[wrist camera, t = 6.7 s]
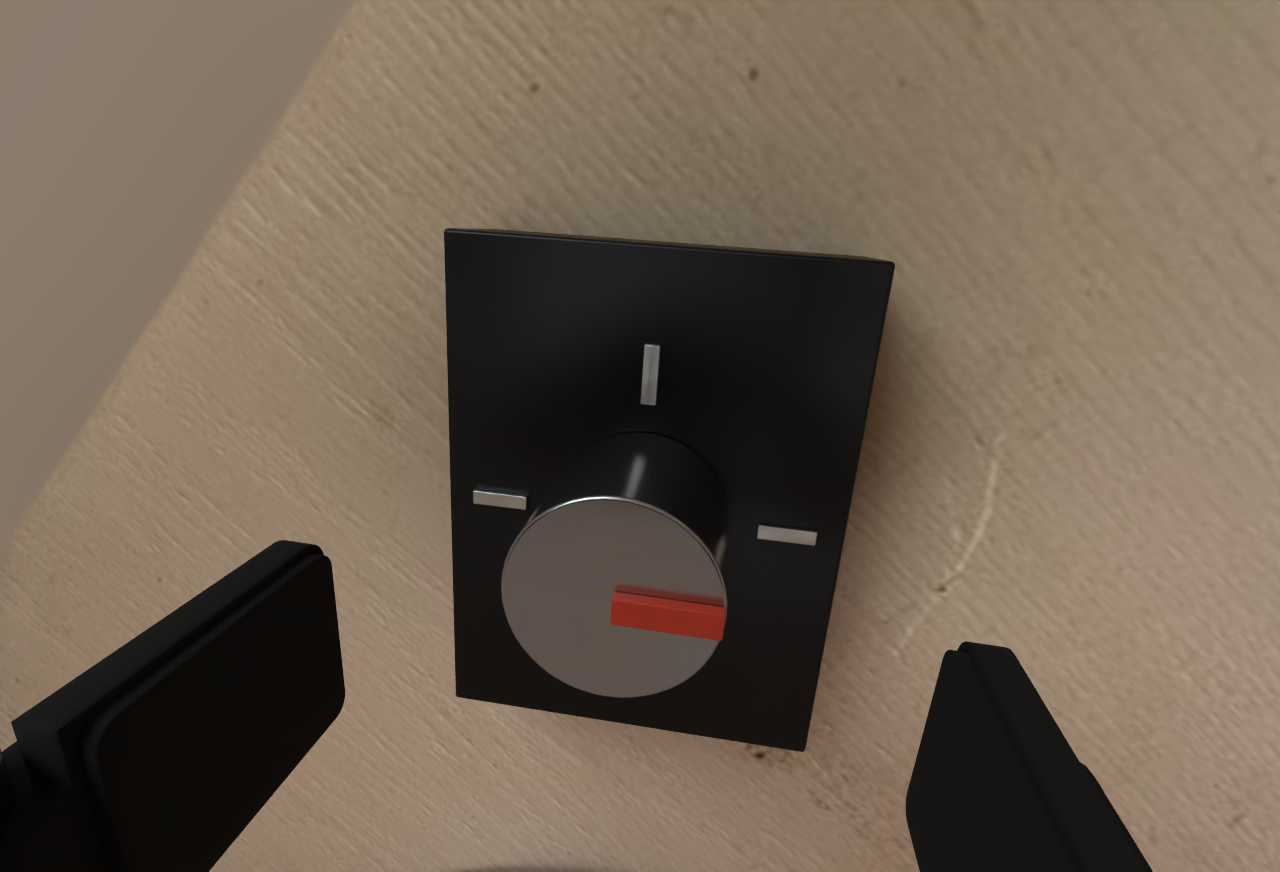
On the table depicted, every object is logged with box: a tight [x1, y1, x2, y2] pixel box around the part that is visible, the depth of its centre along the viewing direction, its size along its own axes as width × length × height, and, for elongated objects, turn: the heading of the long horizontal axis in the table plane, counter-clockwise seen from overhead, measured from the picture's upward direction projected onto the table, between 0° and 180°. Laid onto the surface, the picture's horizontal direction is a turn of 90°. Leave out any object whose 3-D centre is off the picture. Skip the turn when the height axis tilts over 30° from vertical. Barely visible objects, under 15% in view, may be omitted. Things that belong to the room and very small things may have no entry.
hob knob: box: [501, 432, 729, 698], centre depth 14 cm, size 4×4×4 cm
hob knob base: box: [444, 228, 895, 752], centre depth 17 cm, size 13×10×3 cm
